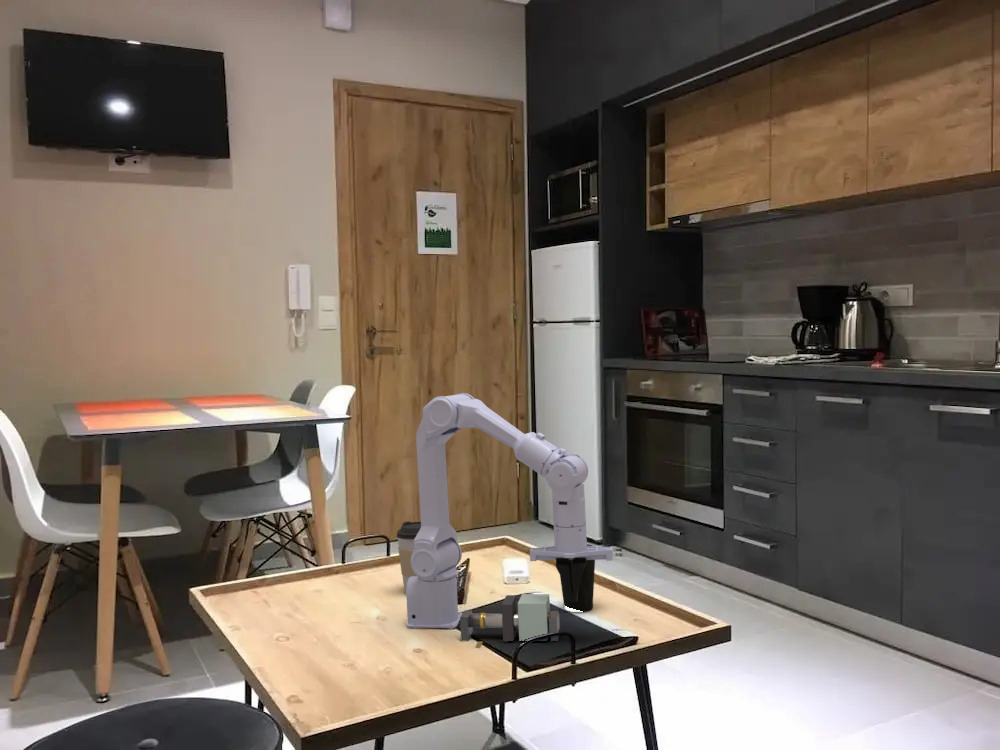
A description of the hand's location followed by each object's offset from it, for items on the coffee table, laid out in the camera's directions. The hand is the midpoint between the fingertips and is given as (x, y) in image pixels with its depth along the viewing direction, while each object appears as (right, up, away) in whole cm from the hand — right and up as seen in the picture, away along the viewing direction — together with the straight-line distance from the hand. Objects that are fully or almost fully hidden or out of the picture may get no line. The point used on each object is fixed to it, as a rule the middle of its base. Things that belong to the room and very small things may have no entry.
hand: (573, 600), depth 153 cm
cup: (+3, -6, +17) cm, 18 cm away
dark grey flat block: (-11, -7, +2) cm, 13 cm away
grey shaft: (-11, -7, 0) cm, 14 cm away
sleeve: (-7, -7, +1) cm, 10 cm away
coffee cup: (-30, -7, +34) cm, 46 cm away
